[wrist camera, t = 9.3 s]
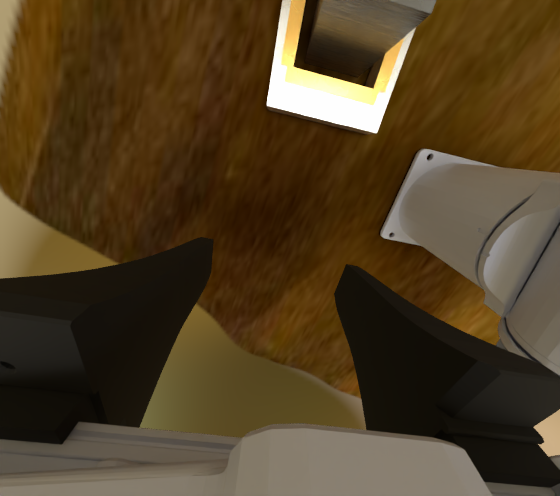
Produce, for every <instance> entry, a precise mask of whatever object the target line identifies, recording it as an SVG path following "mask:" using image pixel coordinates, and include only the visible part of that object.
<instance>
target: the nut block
mask: <svg viewBox="0 0 560 496" xmlns="http://www.w3.org/2000/svg"><path fill="white" fill-rule="evenodd" d="M435 2H436V0H317V4H316V9H315V14H314V19H313V24H312V29H311V34H310V39H309V44H308V49H307V54H306V59H305V63H307V64H311V65H314V66H318V67H321V68H325V69H329V70H332V71H336V72H340V73H343V74H347V75H350V76H354V77H359V76H360V75H361V74H363V73H364V72H365V71H366V70H367V69H368V68H369V67H371V66H372V65H373V64H374V63H375V62H376V61H377V60H379V59H380V58H381V57H382V56H383V55H384V54H385V53H387V52H388V51H389V50H390V49H391V48H392V47H393V46H395V45H396V44H397V43H398V42H399V41H400V40H401V39H403V38H404V37H405V36H406V35H407V34H408V33H409V32H411V31H412V30H413V29H414V28H415V27H416V26H417V25H419V24H420V23H421V22H422V21H423V20H424V19H425V18H427V17H428V16H429V15H430V14H431V12H432V10H433V7H434V5H435Z"/></svg>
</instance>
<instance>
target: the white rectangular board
mask: <svg viewBox="0 0 560 496" xmlns="http://www.w3.org/2000/svg"><path fill="white" fill-rule="evenodd" d="M305 2H306V0H282V6H281V13H280V20H279V26H278V33H277V40H276V46H275V53H274V60H273V66H272V73H271V79H270V86H269V93H268V99H267V108H268V110H270V111H274V112H278V113H282V114H286V115H290V116H294V117H298V118H302V119H306V120H310V121H314V122H318V123H322V124H326V125H330V126H334V127H338V128H342V129H346V130H350V131H354V132H358V133H362V134H366V135H367V134H375V133H377V131H378V128H379V126H380V123H381V120H382V118H383V115H384V112H385V109H386V107H387V104H388V101H389V99H390V96H391V93H392V90H393V88H394V85H395V82H396V80H397V77H398V74H399V71H400V69H401V66H402V63H403V61H404V58H405V55H406V52H407V50H408V47H409V44H410V41H411V39H412V36H413V33H414V31H415V28H416V27H415V28H414V29H413V30H412V31H411V32H409V33H408V34H407V35H406V36H405V37H404V38H403V39H401V40H400V41H399V42H398V43H397V44H396V45H395V46H393V47H392V48H391V49H390V50H389V51H388V52H387V53H385V54H384V55H383V56H382V57H381V58H380V59H379V60H377V61H376V62H375V63H374V64H373V65H372V66H371V69H370V72H369V75H368V78H367V81H366V85H365V86H361V85H357V84H354V83H350V82H346V81H343V80H339V79H335V78H332V77H328V76H324V75H321V74H317V73H313V72H310V71H306V70H302V69H299V68H295V67H294V61H295V56H296V51H297V45H298V40H299V34H300V29H301V24H302V18H303V13H304V8H305Z"/></svg>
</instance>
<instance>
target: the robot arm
mask: <svg viewBox="0 0 560 496" xmlns="http://www.w3.org/2000/svg"><path fill="white" fill-rule="evenodd" d="M429 154H430V158H429V159H428V160H427V156H428V155H429ZM392 232H393V234H392V235H391V236H389V234H390V233H392ZM380 235H381V236H382V237H383V238H385V239H390V240H395V241H400V242H405V243H410V244H415V245H420V246H422V247H424V248H425V249H427V250H428V251H430V252H431V253H432V254H434V255H435V256H437V257H438V258H439V259H441V260H442V261H444V262H445V263H447V264H448V265H449V266H451V267H452V268H454V269H455V270H457V271H458V272H459V273H461V274H462V275H464V276H465V277H466V278H468V279H469V280H471V281H472V282H474V283H475V284H476V285H478V286H479V287H481V288H482V289H483V290H485V294H486V295H485V300H484V304H486V305H487V306H488V307H489V308H491V309H492V310H493V311H495V312H496V313H497V314H498V315H500V316H501V317H502V318H501V320H500V322H499V324H498V333H499V337H500V339H501V341H502V343H503V345H504V346H505V347H506V349H507V350H508V351H507V350H505V349H502V348H499V347H497V346H495V345H492V344H490V343H488V342H485V341H483V340H481V339H478V338H476V337H474V336H472V335H470V334H467V333H465V332H463V331H461V330H459V329H457V328H455V327H453V326H451V325H449V324H447V323H445V322H443V321H441V320H439V319H437V318H435V317H434V316H432V315H430V314H428V313H427V312H425V311H423V310H421V309H420V308H418V307H416V306H415V305H413V304H412V303H410V302H408V301H407V300H405V299H404V298H402V297H401V296H399V295H398V294H396V293H395V292H394V291H392V290H391V289H389V288H388V287H387V286H385V285H384V284H382V283H381V282H380V281H378V280H377V279H376V278H374V277H373V276H371V275H370V274H369V273H367V272H366V271H364V270H363V269H361V268H359V267H358V266H353V265H348V264H346V266H345V269H344V271H343V274H342V276H341V278H340V281H339V283H338V286H337V288H336V291H335V293H334V295H335V301H336V307H337V311H338V314H339V317H340V320H341V323H342V326H343V329H344V332H345V335H346V338H347V341H348V343H349V346H350V350H351V353H352V356H353V361H354V365H355V369H356V374H357V379H358V384H359V389H360V394H361V399H362V405H363V411H364V417H365V423H366V429H367V430H360V429H350V428H341V427H332V426H323V425H312V424H304V423H302V424H301V423H299V424H272V425H269V426H266V427H263V428H260V429H257V430H254V431H251V432H249V433H247V434H246V435H245V436H244V437H243V438H239V437H228V436H218V435H208V434H197V433H188V432H178V431H168V430H157V429H148V428H147V429H146V428H139V427H140V424H141V422H142V419H143V417H144V414H145V412H146V409H147V406H148V404H149V401H150V399H151V397H152V394H153V392H154V389H155V387H156V384H157V381H158V380H159V377H160V374H161V372H162V370H163V367H164V365H165V363H166V361H167V358H168V356H169V354H170V352H171V349H172V347H173V345H174V343H175V341H176V338H177V336H178V334H179V332H180V330H181V328H182V326H183V324H184V322H185V321H186V319H187V317H188V316H189V314H190V312H191V311H192V309H193V307H194V306H195V304H196V302H197V300H198V299H199V297H200V295H201V294H202V292H203V290H204V288H205V286H206V284H207V281H208V279H209V276H210V274H211V266H212V252H213V239H208V238H203V237H200V238H197V239H194V240H192V241H190V242H187V243H185V244H182V245H180V246H177V247H175V248H172V249H170V250H167V251H164V252H161V253H158V254H155V255H153V256H149V257H146V258H143V259H139V260H135V261H131V262H127V263H123V264H118V265H113V266H108V267H103V268H98V269H92V270H85V271H78V272H70V273H63V274H54V275H43V276H30V277H18V278H3V279H0V496H560V455H555V456H551V457H548V456H547V455H546V453H545V452H544V451H543V450H542V449H541V448H540V446H539V445H538V444H542V443H544V440H543V438H542V436H541V435H540V434H539V433H538V432H537V431H536V430H535V429H534V428H533V427H534V426H535V425H537V424H538V423H540V422H541V421H543V420H544V419H546V418H547V417H549V416H550V415H552V414H553V413H555V412H556V411H558V410H559V409H560V173H553V172H543V171H533V170H522V169H512V168H502V167H497V166H493V165H489V164H485V163H481V162H477V161H473V160H469V159H465V158H461V157H457V156H454V155H450V154H446V153H442V152H438V151H434V150H430V149H421V150H419V151H418V152H417V154H416V156H415V158H414V160H413V162H412V165H411V167H410V169H409V171H408V173H407V175H406V178H405V180H404V182H403V184H402V186H401V188H400V191H399V193H398V195H397V197H396V199H395V201H394V204H393V206H392V208H391V210H390V212H389V214H388V217H387V219H386V221H385V223H384V225H383V227H382V230H381V232H380Z"/></svg>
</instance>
